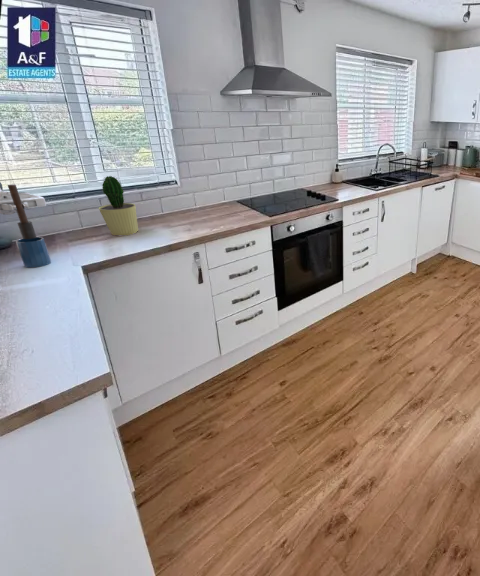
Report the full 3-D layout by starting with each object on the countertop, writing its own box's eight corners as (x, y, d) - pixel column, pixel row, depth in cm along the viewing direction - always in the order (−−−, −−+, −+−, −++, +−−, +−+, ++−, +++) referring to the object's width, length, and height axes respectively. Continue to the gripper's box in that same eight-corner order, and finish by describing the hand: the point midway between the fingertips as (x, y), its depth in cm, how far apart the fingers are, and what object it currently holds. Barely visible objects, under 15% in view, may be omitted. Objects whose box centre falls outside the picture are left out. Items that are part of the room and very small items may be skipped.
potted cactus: (105, 234, 191) (86, 174, 178) (139, 228, 200) (123, 171, 187) (110, 241, 181) (89, 178, 168) (145, 235, 190) (129, 175, 177)
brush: (21, 239, 140) (2, 185, 132) (23, 237, 143) (5, 184, 135) (35, 238, 142) (17, 185, 134) (37, 236, 145) (20, 183, 137)
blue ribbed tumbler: (22, 268, 141) (13, 243, 138) (26, 262, 148) (18, 238, 144) (49, 265, 145) (41, 241, 142) (52, 260, 152) (45, 236, 148)
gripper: (-38, 198, 134) (-21, 202, 128) (32, 191, 150) (50, 195, 145) (-31, 215, 136) (-15, 220, 130) (37, 207, 153) (55, 211, 147)
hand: (20, 207), depth 138 cm, fingers closed on brush, 2 cm apart
